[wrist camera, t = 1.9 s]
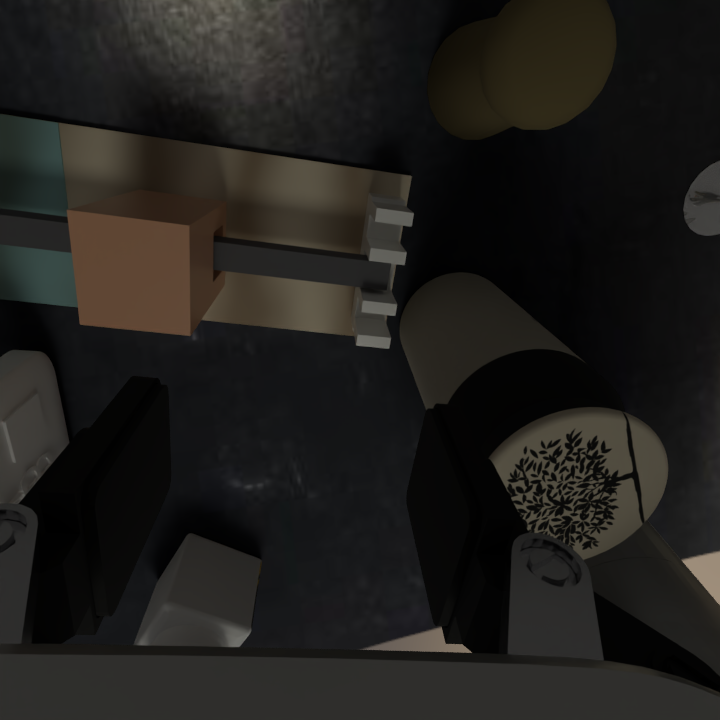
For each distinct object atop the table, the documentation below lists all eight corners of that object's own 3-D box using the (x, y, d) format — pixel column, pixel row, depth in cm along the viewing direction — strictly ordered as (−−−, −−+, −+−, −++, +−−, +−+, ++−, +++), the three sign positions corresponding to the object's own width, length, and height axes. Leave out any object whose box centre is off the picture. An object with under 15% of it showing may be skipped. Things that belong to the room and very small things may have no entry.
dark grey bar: (387, 257, 29) (391, 264, 27) (383, 282, 29) (386, 290, 28) (-162, 187, 25) (-192, 190, 23) (-153, 217, 26) (-181, 222, 24)
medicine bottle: (228, 605, 45) (198, 754, 34) (156, 581, 43) (100, 731, 32) (263, 557, 42) (242, 701, 32) (189, 529, 40) (139, 673, 30)
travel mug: (409, 384, 36) (481, 589, 19) (388, 286, 32) (454, 436, 16) (512, 360, 35) (671, 547, 19) (501, 258, 32) (685, 382, 16)
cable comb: (399, 196, 30) (415, 208, 25) (378, 319, 33) (388, 352, 28) (368, 191, 29) (377, 203, 24) (350, 316, 33) (355, 349, 28)
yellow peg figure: (509, -2, 26) (626, -90, 16) (541, 109, 28) (659, 94, 18) (410, 55, 26) (461, 6, 17) (449, 159, 29) (515, 169, 19)
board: (410, 175, 29) (412, 176, 29) (382, 336, 34) (383, 339, 33) (-185, 85, 25) (-195, 84, 25) (-126, 282, 30) (-133, 285, 29)
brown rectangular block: (226, 201, 28) (189, 225, 20) (224, 285, 30) (190, 335, 22) (139, 189, 27) (66, 209, 20) (144, 275, 30) (79, 324, 22)
